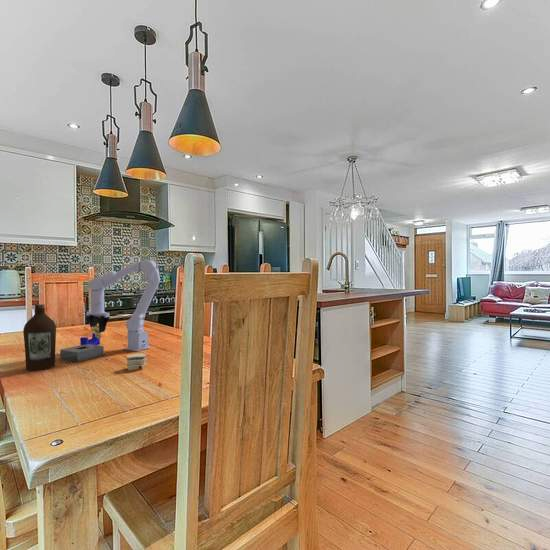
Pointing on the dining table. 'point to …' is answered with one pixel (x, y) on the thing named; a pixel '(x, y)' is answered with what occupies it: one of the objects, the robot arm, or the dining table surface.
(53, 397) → the dining table surface
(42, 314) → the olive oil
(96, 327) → the brass pin
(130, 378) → the dining table surface
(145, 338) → the robot arm
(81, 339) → the blue angular block
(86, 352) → the block
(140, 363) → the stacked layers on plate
